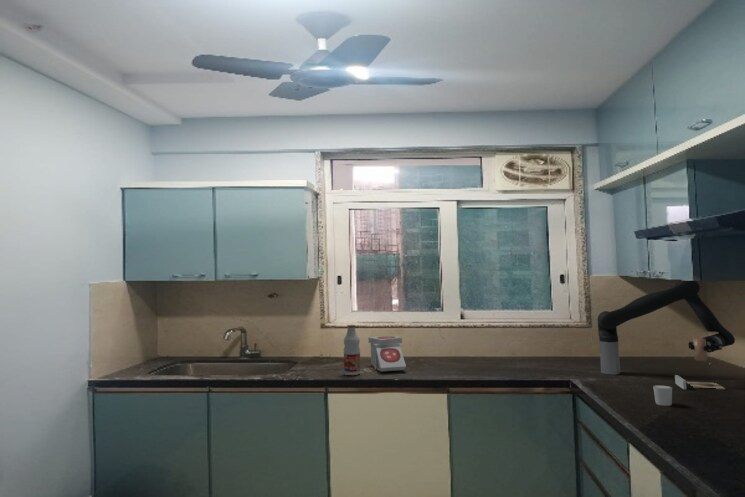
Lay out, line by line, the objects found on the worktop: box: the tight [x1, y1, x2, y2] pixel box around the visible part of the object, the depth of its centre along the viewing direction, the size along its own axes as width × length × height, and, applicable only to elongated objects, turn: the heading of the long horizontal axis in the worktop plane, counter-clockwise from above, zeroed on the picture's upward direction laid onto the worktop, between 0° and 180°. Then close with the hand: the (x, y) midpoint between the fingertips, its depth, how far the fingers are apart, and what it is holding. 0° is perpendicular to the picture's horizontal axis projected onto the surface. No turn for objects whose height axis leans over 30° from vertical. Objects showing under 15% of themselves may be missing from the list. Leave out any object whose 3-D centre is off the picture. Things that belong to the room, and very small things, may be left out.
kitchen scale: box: [368, 334, 407, 372], centre depth 287 cm, size 19×30×18 cm, turn 12°
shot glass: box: [652, 384, 673, 407], centre depth 199 cm, size 7×7×7 cm
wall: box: [674, 374, 688, 390], centre depth 227 cm, size 12×1×4 cm, turn 163°
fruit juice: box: [343, 324, 361, 373], centre depth 274 cm, size 9×9×28 cm
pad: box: [686, 381, 726, 390], centre depth 226 cm, size 12×12×1 cm
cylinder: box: [692, 337, 708, 362], centre depth 227 cm, size 5×5×10 cm
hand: (698, 348), depth 226 cm, fingers closed on cylinder, 5 cm apart
